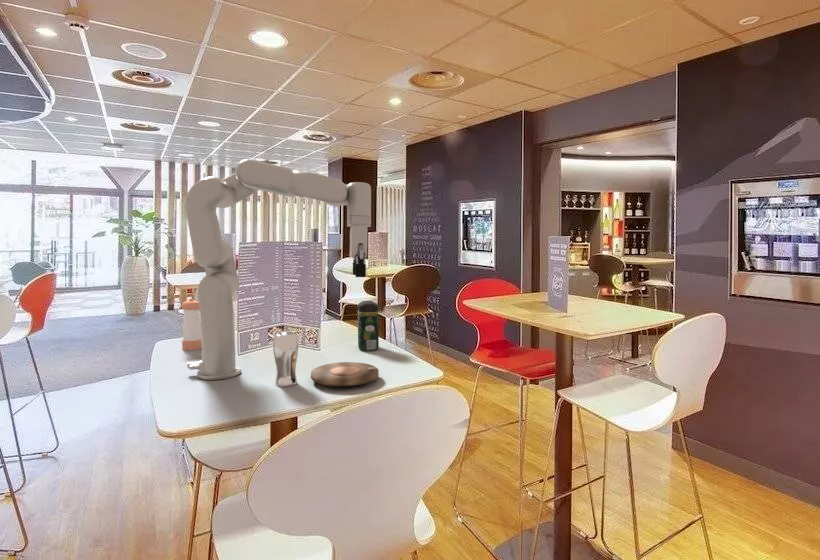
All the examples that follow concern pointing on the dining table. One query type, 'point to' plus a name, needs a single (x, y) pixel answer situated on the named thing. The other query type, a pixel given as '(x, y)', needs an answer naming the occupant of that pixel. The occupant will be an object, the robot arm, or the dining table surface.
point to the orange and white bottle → (191, 325)
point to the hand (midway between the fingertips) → (359, 275)
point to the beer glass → (285, 357)
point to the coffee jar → (368, 326)
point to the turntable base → (344, 386)
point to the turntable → (344, 374)
